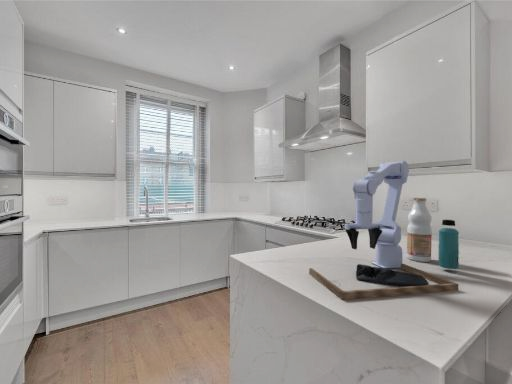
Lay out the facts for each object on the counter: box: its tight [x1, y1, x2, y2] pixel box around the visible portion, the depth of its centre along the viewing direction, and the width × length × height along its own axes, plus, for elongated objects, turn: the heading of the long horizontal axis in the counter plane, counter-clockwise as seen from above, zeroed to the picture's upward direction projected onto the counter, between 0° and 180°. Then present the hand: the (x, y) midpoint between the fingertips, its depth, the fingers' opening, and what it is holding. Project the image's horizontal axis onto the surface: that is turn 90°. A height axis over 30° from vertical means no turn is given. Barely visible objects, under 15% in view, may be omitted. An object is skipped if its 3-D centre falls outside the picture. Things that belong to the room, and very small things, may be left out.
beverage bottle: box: [437, 219, 460, 270], centre depth 100 cm, size 6×7×20 cm
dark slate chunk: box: [355, 263, 429, 287], centre depth 89 cm, size 15×22×5 cm
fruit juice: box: [406, 197, 432, 263], centre depth 116 cm, size 9×9×28 cm
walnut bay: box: [308, 263, 459, 301], centre depth 87 cm, size 40×22×2 cm, turn 102°
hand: (363, 248), depth 95 cm, fingers open, 7 cm apart
